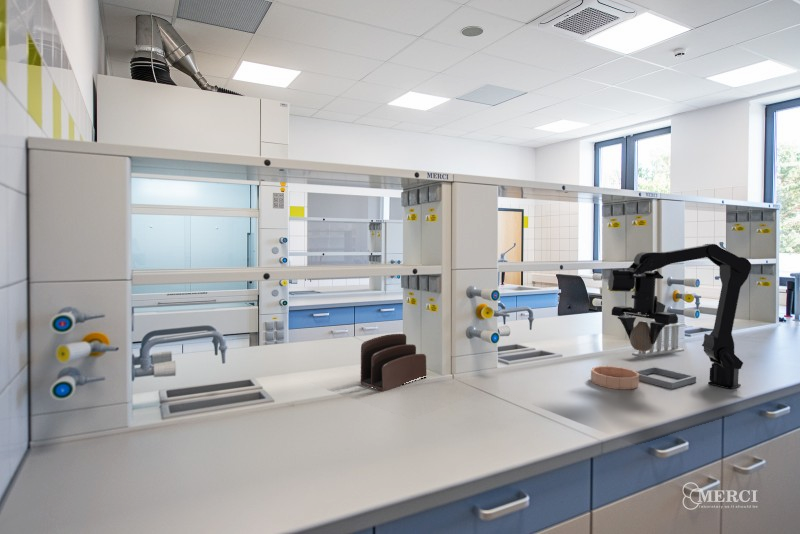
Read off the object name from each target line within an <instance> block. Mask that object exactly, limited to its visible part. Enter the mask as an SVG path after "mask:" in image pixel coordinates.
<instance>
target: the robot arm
mask: <svg viewBox="0 0 800 534" xmlns="http://www.w3.org/2000/svg"><path fill="white" fill-rule="evenodd" d="M706 258H707V259H708V260H709V261H710V262H712V263H713V264H714V265H716V266H717V267H718V268H719V277H720V279H719V280H720V281H721V288H720V289H721V290H720V292H719V294H720V295H719V299H718V304H717V310H716V313H715V314H716V315H715V320H714V326H713V329H712V331H711V332H710V333H709V334H707V333H704V335H703V342H702V344H701V347H703V352H704V354H705V355H706V356H707V357H708V358H709V360H710V362H711V367H709V376H708V377H709V378H708V379H709V381H708V384H709V385H714V386H718V387H721V388H726V389H729V390H731V389H735V388H737V387H741V383H739V373H740V372H739V370H741V369H742V367H743V364H744V361H742V360H741V359H740V358H739V357H738V356H737V355H736V354H735V341H734V338H733V328H734V322H735V317H736V313H737V307H738V303H739V297H740V291H741V289H742V286H743V285H744V284H745V282H746V281H747V280H748V278H749V275H750V273H751V270H752V263H751V262H750V261H749V260H748V258H746V257H742V256H737V255H736V254H734V253H732V252H730V251H729V250H726V249H724V248H722V247H720V246H719V245H718V244H716V243H705V244H702V245H698V246H692V247H686V248H680V249H674V250H670V251H643V252H642V251H641V252H639V253H637V254H636V255H635V257H634V259H633V263H631V265H630V266H629V267H628V268H627V269H626V270H619V269H611V270H610V274H609V277H608V281H607V283H608V284H607V285H608V286H607V287H608V290H609V292H624V293H625V292H627V293H628V292H631V290H634V291H633V293H634V294H631V299H633V306H632V307H631V306H625V305H617V306H613V307H612V308H611V314H610V315H612V316H615V317H617V319H618V320H620V322H621V324H622V325H623V328H624V329H625V333H626V334H627V336H628V340H630V334H631V331H632V330H633V328H634V327H635V326H634V325H635V324H634V323H635V321H636V319H637V317H639V318H645V319H650V320H653V321H655V322H652V323H650V322H649V325H650V333H651V344H654V345H655V344H656V343H657V337H658V335H659V333H660V331H661V330H662V331H663V328H664V326H665V325H669V324H673V323H679V317H678V315H677V313H673V312H666V311H665V309H666V305H665V304H664V303H662V302H661V301H658V296H657V295H655V294H656V280H657V279H660V280H662V279H664V276H663V275H662V274H660V272H659V269H661V268H664V267H666V266H669V265H671V264H677V263H681V262H682V263H683V262H689V261H695V260H699V259H706Z"/></svg>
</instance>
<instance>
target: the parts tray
mask: <svg viewBox="0 0 800 534" xmlns="http://www.w3.org/2000/svg"><path fill="white" fill-rule="evenodd" d="M634 371H635V372H637V373H639V382H640V381H641V382H645V383H648V384H652V385H656V386H660V387H664V388H667V389H671V390H674V389H677V388H681V387H684V386H688V385H691V384H694V383H697V376H696V375H691V374H688V373H687V374H686V373H682V372H679V371H678V372H677V371H674V370H671V369H666V368H661V367H657V366H651V367H646V368H642V369H637V370H634ZM650 374H657V375H662V376H667V377H669V378H670V377H671V378H675V379H677V380H673V381H669V380H666V379H661V378H657V377H652V376H648V375H650Z"/></svg>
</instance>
